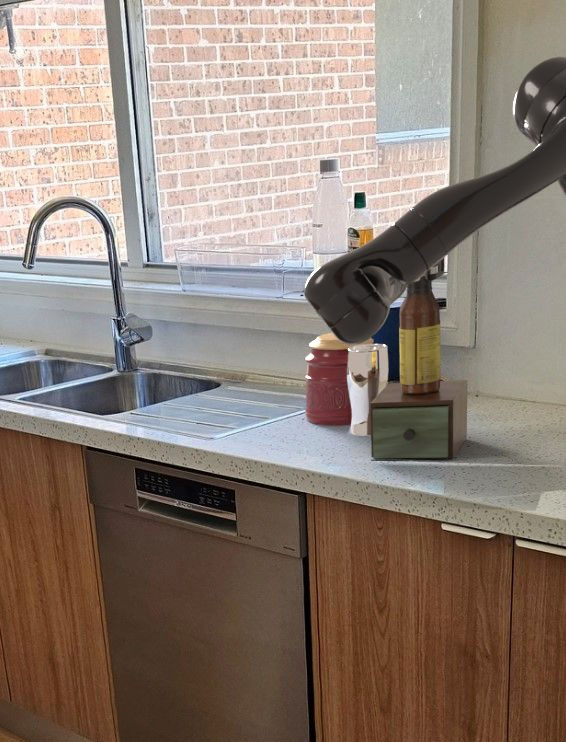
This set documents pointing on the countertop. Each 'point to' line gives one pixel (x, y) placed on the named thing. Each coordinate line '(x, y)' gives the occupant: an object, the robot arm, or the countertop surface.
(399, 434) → the drawer
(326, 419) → the kitchen canister
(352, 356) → the beer glass
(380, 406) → the cabinet
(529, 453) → the countertop surface
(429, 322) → the sauce bottle
